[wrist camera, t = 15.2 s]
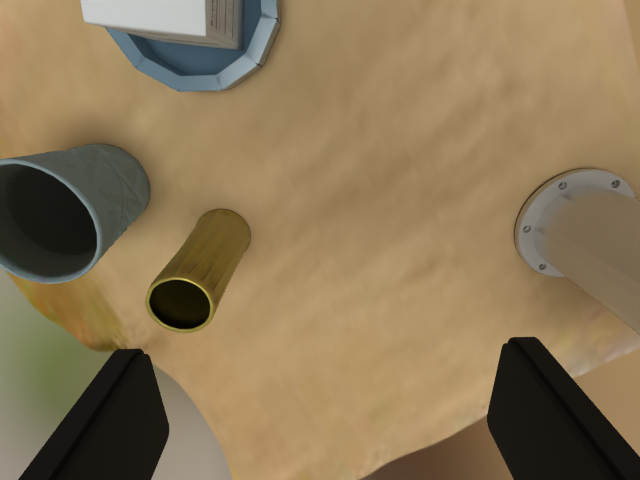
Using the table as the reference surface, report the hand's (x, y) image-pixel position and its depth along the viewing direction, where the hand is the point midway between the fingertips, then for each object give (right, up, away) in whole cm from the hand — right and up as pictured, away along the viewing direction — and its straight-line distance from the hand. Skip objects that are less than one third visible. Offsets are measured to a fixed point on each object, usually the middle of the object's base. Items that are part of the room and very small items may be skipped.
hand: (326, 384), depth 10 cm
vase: (-11, +5, +31) cm, 33 cm away
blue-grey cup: (-22, +10, +29) cm, 38 cm away
